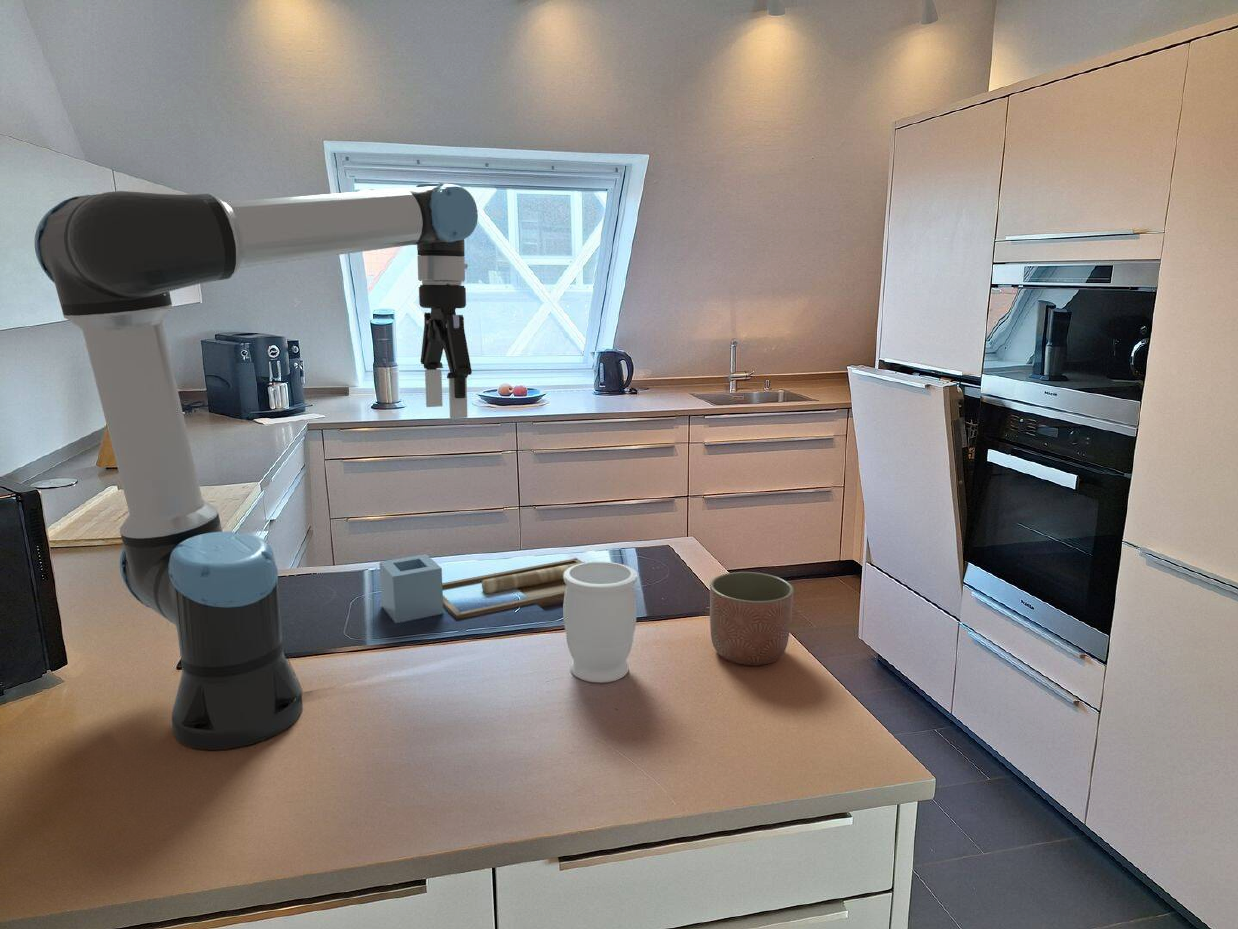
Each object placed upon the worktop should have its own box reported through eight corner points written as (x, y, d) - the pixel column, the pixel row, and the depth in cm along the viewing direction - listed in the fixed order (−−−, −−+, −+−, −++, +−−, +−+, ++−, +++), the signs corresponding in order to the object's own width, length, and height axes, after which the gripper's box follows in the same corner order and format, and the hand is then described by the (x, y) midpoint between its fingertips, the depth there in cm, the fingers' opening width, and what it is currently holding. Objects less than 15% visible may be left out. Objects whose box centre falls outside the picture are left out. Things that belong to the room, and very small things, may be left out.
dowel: (501, 608, 141) (591, 568, 153) (480, 578, 144) (570, 541, 156) (498, 616, 143) (588, 577, 155) (478, 586, 146) (567, 549, 158)
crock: (443, 619, 136) (441, 568, 134) (395, 629, 132) (392, 576, 130) (428, 603, 143) (426, 554, 141) (382, 612, 139) (379, 561, 137)
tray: (615, 591, 149) (615, 582, 148) (456, 625, 134) (456, 615, 133) (576, 566, 161) (576, 558, 161) (427, 595, 146) (427, 586, 146)
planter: (742, 680, 117) (745, 608, 114) (691, 646, 127) (693, 580, 124) (807, 660, 123) (811, 592, 120) (753, 630, 133) (757, 566, 131)
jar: (650, 670, 119) (652, 572, 116) (600, 695, 112) (601, 592, 108) (598, 647, 126) (598, 555, 123) (548, 670, 119) (547, 572, 115)
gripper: (490, 284, 125) (492, 421, 130) (441, 283, 146) (445, 401, 151) (442, 283, 122) (446, 424, 126) (399, 282, 143) (404, 403, 148)
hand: (446, 412), depth 139 cm, fingers open, 13 cm apart
